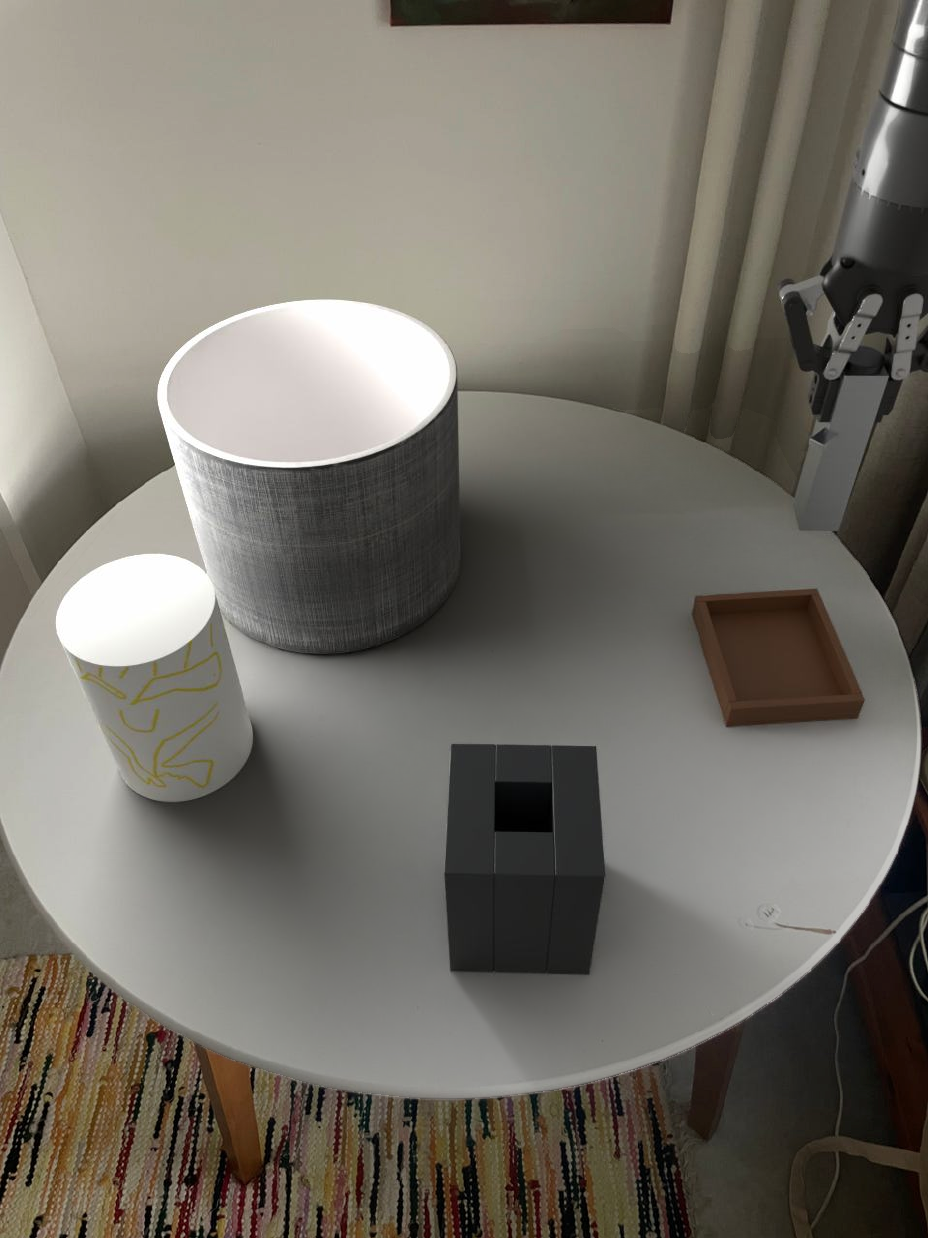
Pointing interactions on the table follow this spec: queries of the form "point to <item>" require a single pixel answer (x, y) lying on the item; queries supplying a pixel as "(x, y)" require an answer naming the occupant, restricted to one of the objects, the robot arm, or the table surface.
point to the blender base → (523, 858)
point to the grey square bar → (840, 443)
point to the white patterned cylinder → (158, 674)
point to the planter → (320, 470)
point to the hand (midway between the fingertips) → (846, 415)
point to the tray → (775, 658)
